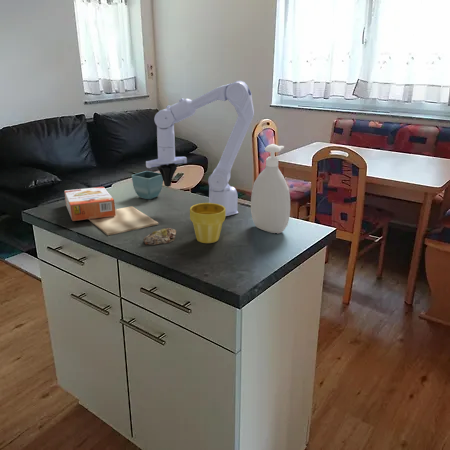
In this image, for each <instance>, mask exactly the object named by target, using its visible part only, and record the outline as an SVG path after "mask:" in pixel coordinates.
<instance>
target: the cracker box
mask: <svg viewBox="0 0 450 450" xmlns="http://www.w3.org/2000/svg"><path fill="white" fill-rule="evenodd" d="M64 199H65V206H66V209H67V211H68V213H69V216H70V219H71V220H72V222H76V221H84V220H88V219H94V218H102V217H110V216H116V214H115V209H116V205H115V199H114V198H113V196H112V195H111V194H110V193H109V192H108V190H107V189H106V188H105V187H104V186H97V187H88V188H79V189H78V188H76V189H67V190H64Z"/></svg>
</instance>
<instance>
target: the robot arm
mask: <svg viewBox="0 0 450 450" xmlns="http://www.w3.org/2000/svg"><path fill="white" fill-rule="evenodd" d="M227 100H228V101H229V103H230V104H231V105H232V106H233V107H234V109H235V112H236V113H237V117H236V121H235V123H234V125H233V128H232V130H231V133H230V135H229V137H228V139H227V142H226V145H225V147H224V149H223V152H222V154H221V157H220V159H219V162H218V164H217V165H216V167H215V168H214V169H213V172H212V173H211V174H210V175H209V176H208V178H207V179H208V180H207V182H208V203H216V204H220V205H222V206H224V207H225V209H226V215H225V217H229V216H233V215H237V214H239V211H238V203H239V202H238V191H237V189H236V188H235V187H234V186H231V185H230V184H229V181H230V180H231V176H232V175H231V173H232V172H231V171H232V168H233V165H234V163H235V160H236V158H237V155H238V154H239V152H240V149H241V146H242V144H243V142H244V139H245V137H246V135H247V133H248V131H249V128H250V126H251V124H252V121H253V119H254V117H255V107H254V101H253V94H252V91H251V89H250V87H249V85H248V84H247V83H246V82H245V81H244V80H235V81H234V82H232V83H228V84H223V85H220V86H218V87H214V88H213V89H211V90H210V91H207V92H206V93H204V94H202V95H200V96H198V97H195V98H194V99H191V98H183V97H182V98H180V99H178V101H177V102H176V103H173V104H171V105H170V104H168V105H167V106H166V108H164V109H160V110H159V111H158V112H156V113H155V115H154V118H153V119H154V123H155V125H156V137H157V138H156V140H157V141H156V143H157V158H155V159H151V160H146V161H145V167H146V168H147V169H151V168H157V169H158V171H159V173H161V175H162V178H163V184H164V185H163V186H165V187H166V188H168V187H171V186H172V180H173V177H174V175H175V173H176V170H177V169H178V166H177V164H178V165H179V164H187V163H188V158H187V157H186V156H176V146H175V145H176V143H175V142H176V141H175V134H176V133H175V123H176V124H178V123H180V122H182V121H184V120H186V119H189V118H191V117H193V116H194V115H195V114H196V112H197V110H198V109H200V108H202V107H204V106H206V105H209V104H211V103H213V102H215V101H221V102H222V101H223V102H226V101H227Z"/></svg>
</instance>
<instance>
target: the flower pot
mask: <svg viewBox="0 0 450 450" xmlns="http://www.w3.org/2000/svg"><path fill="white" fill-rule="evenodd" d="M131 181H132V185H133V190H134V191H135V193H136V195H137V196H138V197H139V198H140V199H145V200H153V199H155V198H157V197H159V195H160V193H161V192H162V189H163V186H164V185H163V184H164V181H163V178H162V175H161V173H160V172H156V171H152V170H151V171H150V170H145V171H142V172H138V173H135V174H131Z"/></svg>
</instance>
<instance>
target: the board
mask: <svg viewBox="0 0 450 450" xmlns="http://www.w3.org/2000/svg"><path fill="white" fill-rule="evenodd" d="M115 214H116V216H110V217H102V218H94V219H87V220H89V221H90V222H91V223H92V224H93V225H95V226H96V227H97V229H99V230H101V232H103V233H104V234H105V235H107V236H111V235H117V234H122V233H127V232H130V231H131V232H132V231H135V230H139V229H140V230H141V229H143V228H144V229H145V228H149V227H153V226H158V225H159V222H158V221H157V220H154V219H153V218H152V217H150V216H149V215H147V214H146V213H144V212H142V211H140V210H138V209H137V208H135V207H134V206H133V205H131V206H127V207H126V206H125V207H120V208H115Z"/></svg>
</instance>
